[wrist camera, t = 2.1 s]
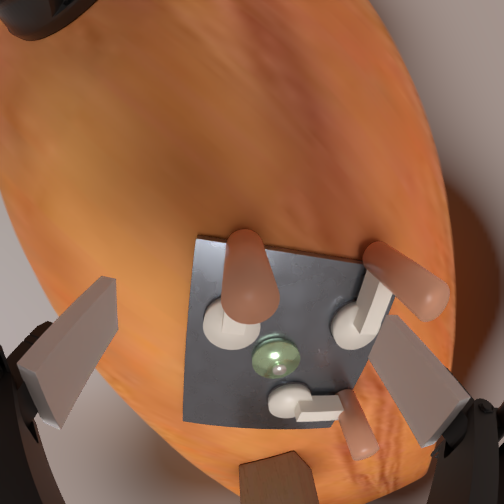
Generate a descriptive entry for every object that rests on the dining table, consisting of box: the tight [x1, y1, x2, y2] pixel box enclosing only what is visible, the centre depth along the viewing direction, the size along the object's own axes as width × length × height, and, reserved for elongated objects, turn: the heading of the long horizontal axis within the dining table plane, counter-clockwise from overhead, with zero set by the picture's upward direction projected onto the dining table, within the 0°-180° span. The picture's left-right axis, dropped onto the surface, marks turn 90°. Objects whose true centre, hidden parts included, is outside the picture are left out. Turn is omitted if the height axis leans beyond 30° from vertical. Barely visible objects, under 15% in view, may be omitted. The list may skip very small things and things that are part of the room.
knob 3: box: [331, 241, 450, 350], centre depth 20 cm, size 11×5×9 cm, turn 170°
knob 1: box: [203, 229, 280, 350], centre depth 19 cm, size 11×5×9 cm, turn 170°
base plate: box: [183, 235, 395, 429], centre depth 27 cm, size 24×20×2 cm
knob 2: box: [268, 384, 379, 460], centre depth 25 cm, size 11×5×9 cm, turn 80°
